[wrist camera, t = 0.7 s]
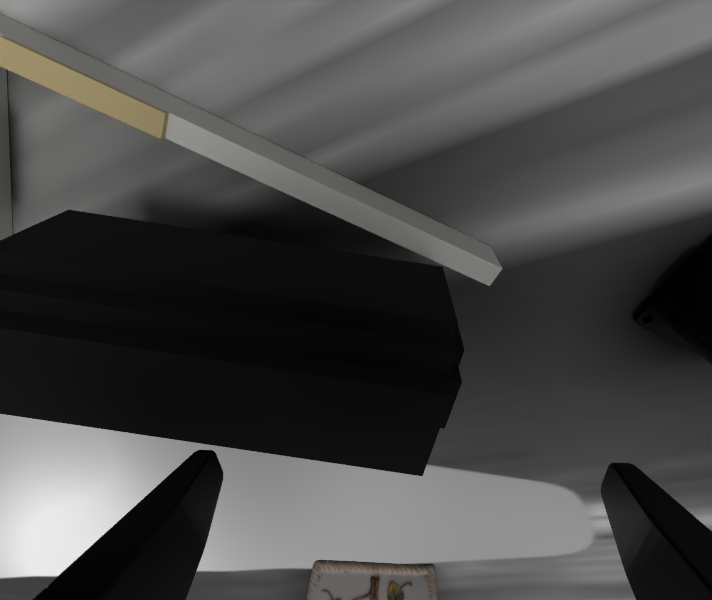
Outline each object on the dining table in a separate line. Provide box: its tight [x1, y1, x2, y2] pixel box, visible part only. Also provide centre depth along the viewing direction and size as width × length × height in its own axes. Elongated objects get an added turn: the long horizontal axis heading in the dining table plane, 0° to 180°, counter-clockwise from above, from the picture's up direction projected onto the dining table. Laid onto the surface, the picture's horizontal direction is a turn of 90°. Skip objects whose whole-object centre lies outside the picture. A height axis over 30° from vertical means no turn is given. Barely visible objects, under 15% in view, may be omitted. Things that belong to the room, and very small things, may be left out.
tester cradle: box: [0, 14, 503, 286], centre depth 18 cm, size 24×12×5 cm, turn 66°
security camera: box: [0, 210, 464, 476], centre depth 16 cm, size 7×18×10 cm, turn 82°
